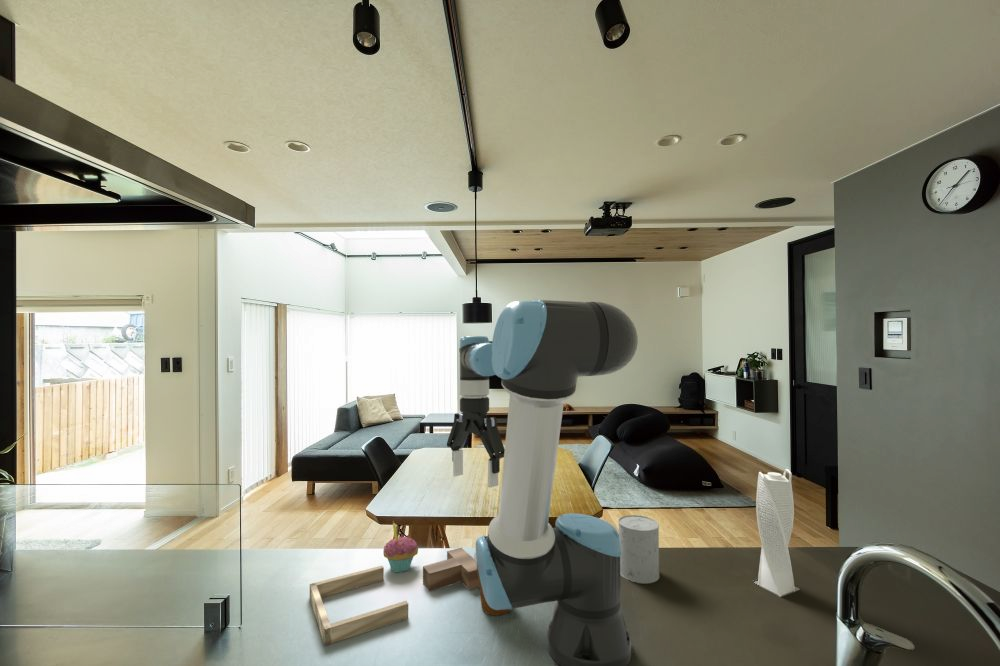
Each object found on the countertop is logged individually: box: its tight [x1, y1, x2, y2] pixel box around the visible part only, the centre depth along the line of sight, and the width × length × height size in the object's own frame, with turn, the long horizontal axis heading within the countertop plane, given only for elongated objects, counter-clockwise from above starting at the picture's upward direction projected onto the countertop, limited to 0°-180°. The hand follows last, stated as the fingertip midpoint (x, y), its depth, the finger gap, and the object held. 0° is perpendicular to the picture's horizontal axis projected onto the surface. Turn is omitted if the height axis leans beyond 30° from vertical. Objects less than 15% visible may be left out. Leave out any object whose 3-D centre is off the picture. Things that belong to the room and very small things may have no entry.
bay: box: [309, 565, 409, 647], centre depth 96 cm, size 18×16×3 cm
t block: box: [422, 547, 479, 592], centre depth 107 cm, size 12×12×4 cm
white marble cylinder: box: [618, 514, 660, 584], centre depth 110 cm, size 10×10×12 cm
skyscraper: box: [753, 468, 801, 598], centre depth 104 cm, size 8×8×28 cm
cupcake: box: [383, 520, 419, 573], centre depth 113 cm, size 9×8×12 cm
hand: (474, 480), depth 114 cm, fingers open, 13 cm apart
